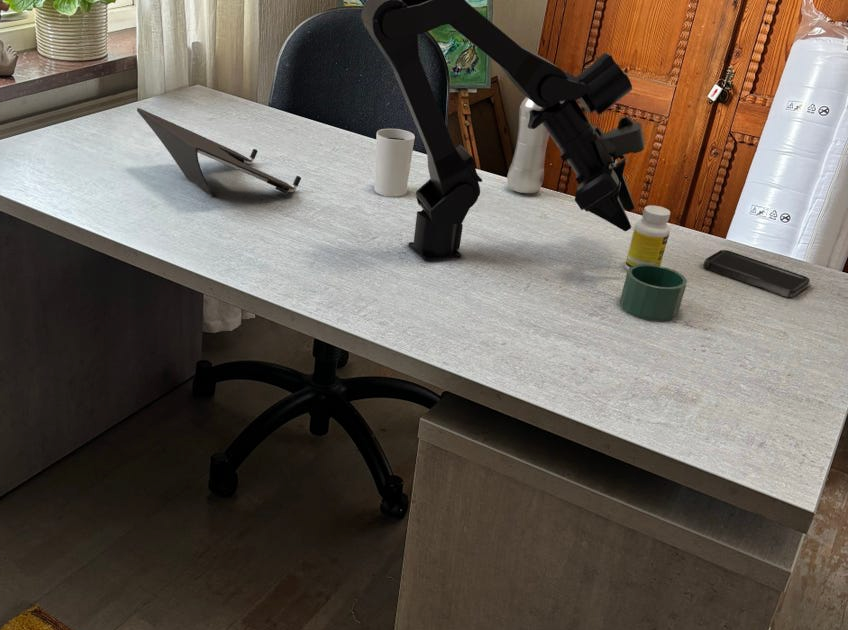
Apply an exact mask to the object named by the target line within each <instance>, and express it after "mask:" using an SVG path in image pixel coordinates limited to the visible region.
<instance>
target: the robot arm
mask: <svg viewBox="0 0 848 630" xmlns="http://www.w3.org/2000/svg"><path fill="white" fill-rule="evenodd" d="M361 20H362V24H363V26H364V28H365V29H366V31H367V33H368V34H369V35H370V37H371V39H372V40H373V42H374V44H375V45H376V47H377V48H378V49H379V50H380V52H381V54H382V55H383V56H384V58H385V60H386V61H387V62H388V63H389V65H390V66H391V69H392V71H393V74H394V77H395V78H396V81H397V83H398V85H399V88H400V90H401V93H402V96H403V97H404V100H405V102H406V105H407V108H408V110H409V112H410V114H411V117H412V119H413V122H414V125H415V126H416V129H417V131H418V134H419V136H420V139H421V141H422V143H423V146H424V149H425V151H426V156H427V169H428V174H429V179H428V180H427V181H426V182H424V184H423V185H422V186H421V187H419V188H418V189H416V191H415V192H414V193H415V194H414V195H415V198H416V201H417V205H418V206H420V208H421V210H419V211H416V218H415V227H414V235H413V241H410V242H408V244H407V246H408V247H409V248H410V249H411V250H412V251H413V252H415V253H416V254H417V255H418V256H419V257H420V258H422V260H424V261H425V262H431V261H432V262H433V261H441V260H451V259H458V258H459V259H460V258H462V257H463V256H462V255H463V254H462V253H461V251H459V250H460V248H461V241H462V236H463V235H462V234H463V227H464V225H463V222H464V220H465V218H466V216H467V214H468V213H469V210H470V208H472V207H473V206H474V205H475V204H476V203H477V201H478V198H479V196H480V195H481V186H480V183H482V182H483V178H481V176H480V175H479V174H478V172H477V169H476V164H475V160H474V157H473V156H472V155H471V154H470V153H469V152H468V151H467V150H466V149H465V148H464V146H463V145H462V144H459V145H458V146H457V147H455V145H454V141H453V140H452V137H451V134H450V132H449V129H448V127H447V124H446V122H445V119H444V117H443V115H442V112H441V109H440V106H439V104H438V102H437V99H436V96H435V93H434V91H433V89H432V86H431V84H430V81H429V79H428V76H427V74H426V71H425V68H424V66H423V63H422V61H421V57H420V44H419V43H420V41H419V35H421V34H425V33H427V32H431V31H433V30H435V29H437V28H439V27H441V26H446V25H449V26H450V27H451V28H453V30H455V31H457V32H458V33H459V34H460V35H461V36H463V37H464V39H466V40H467V41H469V42H470V43H471V44H472V45H474V46H475V47H476V48H477V49H479V50H480V51H481V52H483V54H485V56H487V57H489V59H491V60H492V61H493V62H494V63H496V64H497V65H499V67H500V68H501V69H502V70H503V72H504V73H505V75H506V76H507V78H508V79H509V80H510V81H511V82H512V84H513V85H514V86H515V88H516V89H517V90H518V91H519V92H520V93H521V94H522V95H523V96H525V98H526V97H527V98H528V99H530V100H531V101H532V102H534V103H535V104H536V105H537V106H539V107H541V109H540V110H538V111H537V110H530V111H529V112H530V119H529V123H528V128H529V129H535V128H537V127H538V126H539V125H540V124H543V126H544V127H545V129H546V130H547V132H548V133H549V137H550V138H551V140H553V142H554V143H555V145H556V147H557V148H558V150H559V151H560V156H559V157H560V158H561V160H562V162H564V163H565V162H568V164H569V166H570V167H571V169H572V170H573V171H574V173H575V175H576V176H575V181H576V182H577V184H578V185H577V188H576V191H575V196H574V202H575V203H576V204H577V206H578V207H579V209H580V210H581V211H583V210H584V211H585V212H586V213H587V212H589V213H591V214H593V215H594V216H597V217H599V218H601V219H603V220H605V221H606V222H608V223H609V224H611V225H613V226H614V227H617V228H618V229H620V230H622V231H623V232H628V231H629V230H631V229H632V224H631V222H630V220H629V217H628V214H627V213H626V211H627V212H628V213H630V212H632V211H633V210H635V208H636V206H635V204H634V201H633V198H632V195H631V192H630V190H629V187H628V184H627V181H626V178H625V176H624V172H625V167H626V163H627V157H626V155H628V154H637V153H641V152H642V151H644V150H645V145H646V141H645V135H644V131H643V126H642V123H641V122H640V121H636V122H635V120H634V119H632V117H631V116H630V115H627V116H622V117H619V119H618V124H617V127H616V128H615V127H614V128H612V129H611V130H608V131H606V132H603V130H602V129H601V127H600V126H597V125H594V126H593V124H592V123H591V122H590V120H589V119H588V117H587V116H586V114H585V112H587V113H588V114H589V115H591V114H592V113H594V112H595V113H596V116H601V115H602V114H603V113H605V112H606V111H607V110H609V109H610V108H611V107H612V106H614V105H615V104H616V103H618V102H619V101H621V99H623V98H624V97H625V96H626V95H628V94H629V93H631V92H632V90H633V85H632V82H631V80H630V78H629V76H628V75H627V74H626V73H625V72H624V71H623V70H622V68H621V67H620V66H619V65H618V63H616V62H615V60H614V58H613V55H610V54H609V53H608V52H603V53H601V55H600V56H598V57H597V59H595V60H594V62H593V63H591V64H590V65H589V66H587V67H586V68H585V69H584V70H583V71H581V72H580V73H579V74H578V75H577V76H575V75H573V74H572V73H571V72H570V71H564V70H563V69H561V68H560V67H558V66H557V65H556V64H554V63H552V62H551V61H550V60H549V59H546V58H544V57H543V56H541V55H539V54H537V53H535V52H534V51H531V49H527V48H526V47H523V46H521V45H519V44H518V43H517V42H516V41H514V40H513V39H512V38H511V37H509V36H508V35H507V34H506V33H505V32H504V31H502V30H501V29H500V28H499V27H497V25H495V24H494V23H493V22H492V21H490V20H489V19H488V18H487V17H486V16H484V15H483V14H482V13H481V12H479V10H477V9H476V8H475V7H473V6H472V5H471V4H470V3H469V2H467V0H366V1H365V2H364V4H363V7H362V10H361ZM577 101H578V102H579V103H578V102H577ZM579 104H580V105H581V106H580V105H579ZM581 107H582V108H583V109H582V108H581ZM583 110H584V111H585V112H584V111H583ZM618 159H620V160H619V161H617V160H618Z"/></svg>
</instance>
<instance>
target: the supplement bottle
mask: <svg viewBox="0 0 848 630" xmlns="http://www.w3.org/2000/svg"><path fill="white" fill-rule="evenodd" d="M670 216H671V211H670V210H669V209H668V208H666V207H663V206H659V205H646V206H645V207H644V208H643V211H642V215H641V217H642V218H641V219H639V220H637V221H636V222H635V224H634V226H633V227H634V228H633V231H632V234H631V239H630V242H629V247H628V250H627V254H626V257H625V261H624V268H625V269H626V270H627V271H628V269H629V268H630V267H632V266H634V265H641V264H648V265H658V266H661V264H662V260H663V257H664V255H665V251H666V248H667V243H668V241H669V236H670V233H671V229H670V226H669V225H668V224H667V223H668V222H669V220H670Z"/></svg>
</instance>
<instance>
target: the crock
mask: <svg viewBox="0 0 848 630" xmlns="http://www.w3.org/2000/svg"><path fill="white" fill-rule="evenodd" d="M687 284H688V279H687V278H686V277H685V276H684V274H682V273H681V272H679V271H677V270H674V269H672V268H669V267H666V266H661V265H660V266H658V265H648V264H641V265H634V266H632V267H630V268H629V269H628V270H627V272H626V276H625V279H624V283H623V287H622V292H621V295H620V299H619V306H620V308H621V309H622V310H623V311H624V312H626V313H627V314H629V315H632V316H634V317H636V318H639V319H642V320H647V321H654V322H667V321H671V320H674V319H675V318H677V317H678V315H679V313H680V312H679V311H680V308H681V305H682V301H683V298H684V294H685V291H686V288H687Z"/></svg>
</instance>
